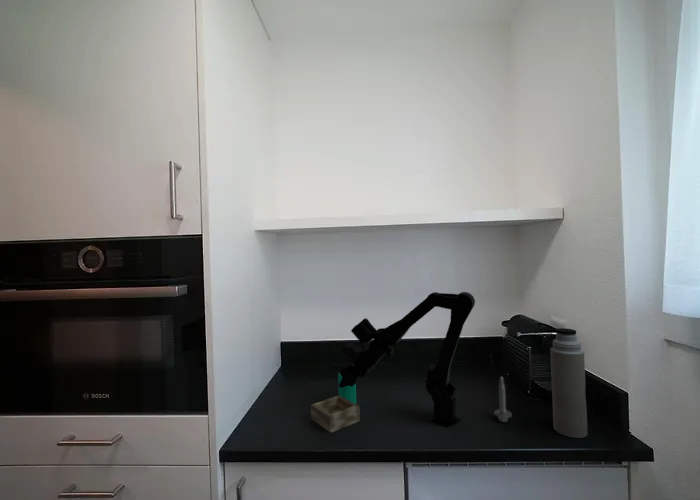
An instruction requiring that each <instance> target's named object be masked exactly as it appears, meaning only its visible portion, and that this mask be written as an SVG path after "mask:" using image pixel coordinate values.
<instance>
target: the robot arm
mask: <svg viewBox="0 0 700 500" xmlns="http://www.w3.org/2000/svg"><path fill="white" fill-rule="evenodd" d="M475 304H476V300H475V298H474V295H473V294H472V293H470V292H468V291H461V292H460V293H447V292H445V293H442V292H437V291H435V292H432V293H430V294H428V295H427V297H426V298H425V299H424V300H422V301H421V302H420V303H419V304H418V305H417V306H415V307H414V308H413V309H412V310H410V311H408V313H407V314H405V315H404V316H403V317H402V318H401V319H399V320H397V321H395V322H393V323H392V324H390V325H389V326H387V327H384V328H383V327H382V328H378V329H376V327H375V326H374V325H373V324H371V322H370V320H369V319H368V318H366V317H365V318H363V319H362V320H361V321H360V322H358V323H357V324H356V325H355V326H353V327H352V329H351V330H350V332H351V333H352V334H353V335H354V337H355V338H356V339H357V340H358V341H359V343H360V344H362V345H364V344H366V345H368V346H366V348H364V349H362V348H361V347H360V346H358V345H357V344H355V343H353V342H351V341H350V342H347V343H345V344H344V346H343V347H342V348H341V354H342V355H343V356H345V358H346V357H347V358H349V359H351V361H350V362H351V364H352V365H351V364H345V365H344V366H342V368H341V369H339V372H338V373H340V374H341V376H342V377H343V378H342V380H341V382H340V384H339V383H338V388H339V387H340V388H342V387H346V386H349V385H350V386H351V387H352V386H353V385H355V384H357V383H358V382H359V381H360V379H361V378H362V377H365V376H367V375H368V374H369V372H372V371H373V370H374V369H375V368H376V366H377V364H378V363H379V362H380V360H381V359H382V358H384V357H385V355H387V357H388V358H391V357H393V356H394V354H395V351H394V349H395V348H394V345H396V344H397V343H398V342H400V341H401V340H402V339H403V337H404V336H405V335H406V334H407V332H408V331H409V330H410V329H411V327H413V326H414V325H415V324H416V323H417V322H418V321H420V320H422V318H424V316H426V315H427V314H428V313H430V311H433V309H435V308H436V307H437V308H441V309H445V310H450V322H449V324H448V328H447V331H446V335H445V338H444V341H443V343H442V347H441V350H440V353H439V355H438V360H437V362H436V363H437V364H436V365H435V364H434V363H432V364H431V366H429V368H428V371H427V376H426V379H424V383H426V384H425V390H426V391H427V394H429V395H430V396H431V399H432V401H433V416H432V417H430V421H432V422H434V423H437V424H440V425H442V426H443V427H444V426H445V427H447V428H450V427H452V426H453V425H455V424H457V423H459V422H461V421H462V420H461V418H459V417H457V406H456V405H457V404H456V402H457V401H456V398H455V397H456V393H457V388H456V387H455V386H454V385H453V384H452V383H451V382H450V378H451V377H450V376H451V365H452V362H453V359H454V356H455V352H456V349H457V346H458V344H459V343H458V342H459V341H460V337H461V335H462V332H463V331H462V330H463V328H464V325H465V323H466V320H467V319H468V317H469V316H470V314H471V312H472V310H473V308H474V306H475ZM370 342H371V343H370Z"/></svg>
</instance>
